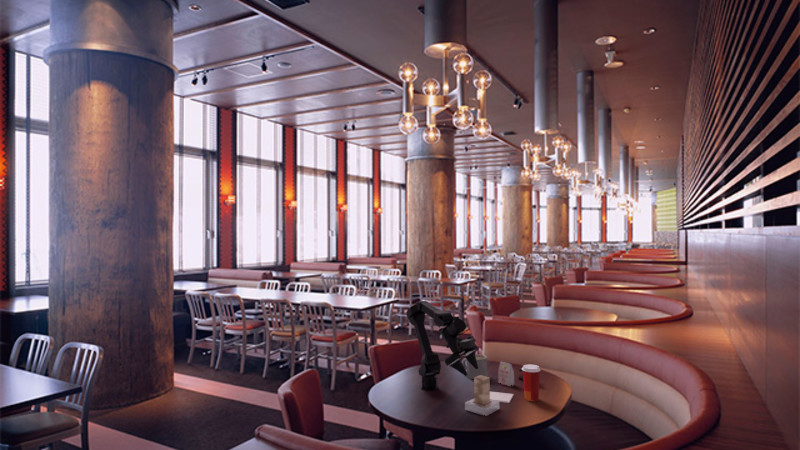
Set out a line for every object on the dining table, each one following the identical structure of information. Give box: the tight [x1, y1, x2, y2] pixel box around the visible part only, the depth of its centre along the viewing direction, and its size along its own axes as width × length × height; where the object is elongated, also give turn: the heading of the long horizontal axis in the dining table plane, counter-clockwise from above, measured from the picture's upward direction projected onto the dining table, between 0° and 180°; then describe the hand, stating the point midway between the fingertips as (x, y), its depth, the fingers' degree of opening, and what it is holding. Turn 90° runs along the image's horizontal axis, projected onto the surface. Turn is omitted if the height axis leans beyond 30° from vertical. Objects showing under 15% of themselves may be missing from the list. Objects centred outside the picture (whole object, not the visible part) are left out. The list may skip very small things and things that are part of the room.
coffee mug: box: [462, 353, 488, 380], centre depth 245 cm, size 13×10×10 cm
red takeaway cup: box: [517, 366, 541, 380], centre depth 234 cm, size 7×7×15 cm
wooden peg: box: [473, 375, 491, 406], centre depth 200 cm, size 4×4×13 cm
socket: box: [464, 398, 500, 417], centre depth 200 cm, size 10×10×3 cm
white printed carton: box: [497, 361, 515, 387], centre depth 232 cm, size 4×7×10 cm, turn 37°
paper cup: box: [521, 364, 541, 402], centre depth 211 cm, size 8×8×14 cm
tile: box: [490, 391, 514, 404], centre depth 214 cm, size 14×10×1 cm
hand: (472, 372), depth 207 cm, fingers open, 9 cm apart
